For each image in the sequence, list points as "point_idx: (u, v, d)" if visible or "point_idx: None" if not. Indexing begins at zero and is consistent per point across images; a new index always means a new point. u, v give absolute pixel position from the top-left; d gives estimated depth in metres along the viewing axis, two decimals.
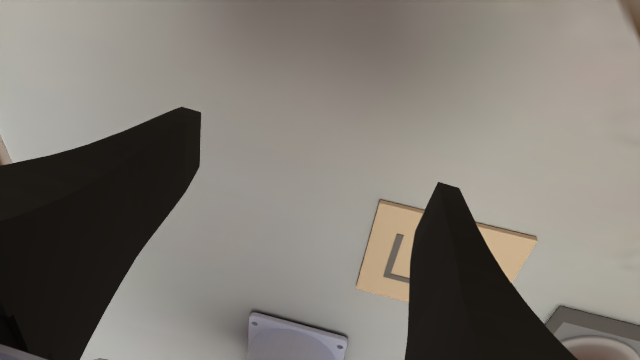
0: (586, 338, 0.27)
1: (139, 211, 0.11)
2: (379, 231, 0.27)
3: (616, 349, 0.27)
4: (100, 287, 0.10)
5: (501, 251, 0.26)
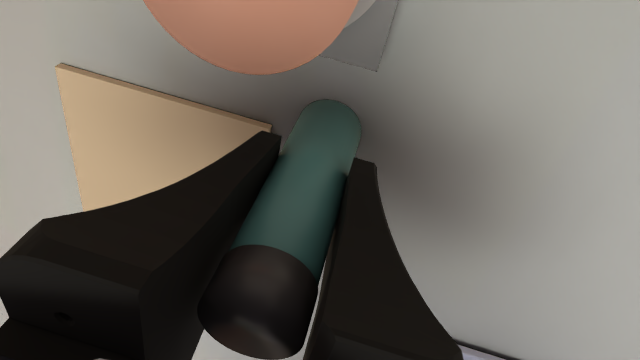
0: None
1: (231, 240, 0.11)
2: None
3: None
4: None
5: (96, 113, 0.17)
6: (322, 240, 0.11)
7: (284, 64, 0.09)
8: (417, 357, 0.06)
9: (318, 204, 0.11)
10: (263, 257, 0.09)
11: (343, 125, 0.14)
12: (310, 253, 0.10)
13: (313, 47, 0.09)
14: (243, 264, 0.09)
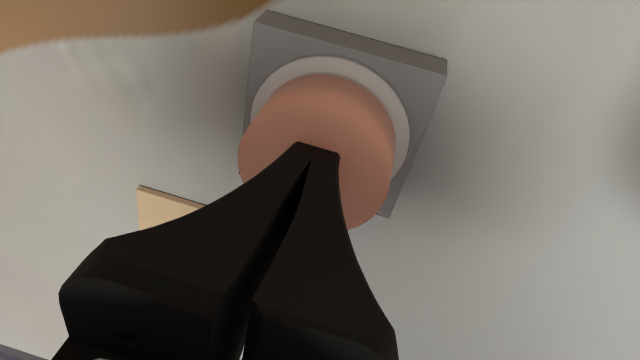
0: None
1: (272, 253, 0.11)
2: None
3: None
4: (244, 333, 0.10)
5: (165, 221, 0.21)
6: None
7: None
8: (343, 334, 0.06)
9: None
10: None
11: None
12: None
13: (355, 221, 0.14)
14: None
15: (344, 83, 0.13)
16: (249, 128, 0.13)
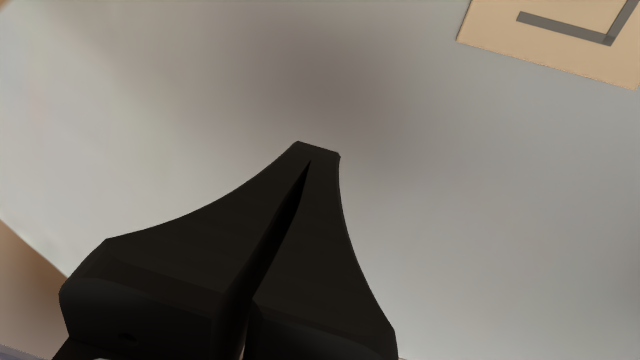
0: None
1: (272, 253, 0.11)
2: (509, 45, 0.20)
3: None
4: (244, 333, 0.10)
5: None
6: None
7: None
8: (343, 334, 0.06)
9: None
10: None
11: None
12: None
13: None
14: None
15: None
16: None
